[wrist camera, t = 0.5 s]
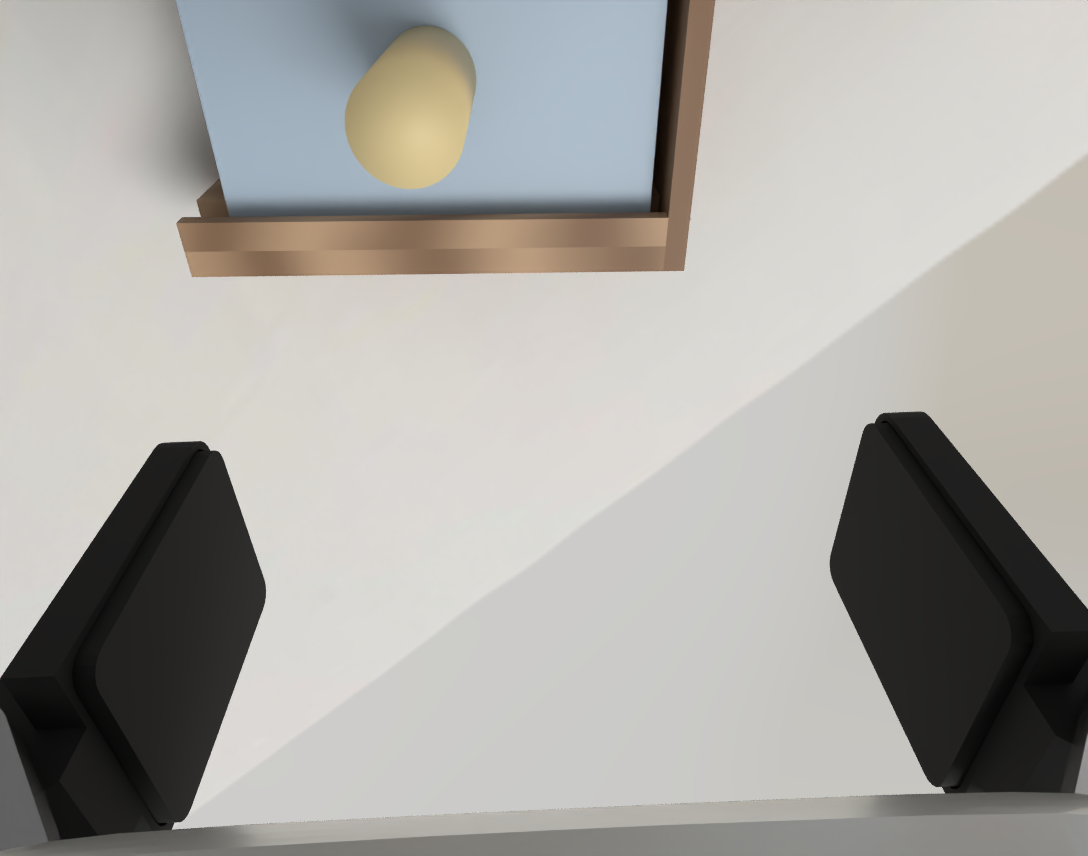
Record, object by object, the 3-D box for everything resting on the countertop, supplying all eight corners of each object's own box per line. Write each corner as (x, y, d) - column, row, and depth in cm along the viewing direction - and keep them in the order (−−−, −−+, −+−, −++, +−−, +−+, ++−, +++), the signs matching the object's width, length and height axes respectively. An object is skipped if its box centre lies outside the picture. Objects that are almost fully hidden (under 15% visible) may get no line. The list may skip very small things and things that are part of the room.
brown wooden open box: (689, -160, 27) (735, -174, 21) (656, 210, 34) (683, 270, 29) (156, -161, 26) (59, -175, 21) (244, 214, 34) (191, 277, 28)
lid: (671, -117, 24) (730, -120, 17) (645, 218, 30) (680, 308, 23) (159, -116, 23) (20, -120, 17) (240, 222, 30) (162, 315, 23)
